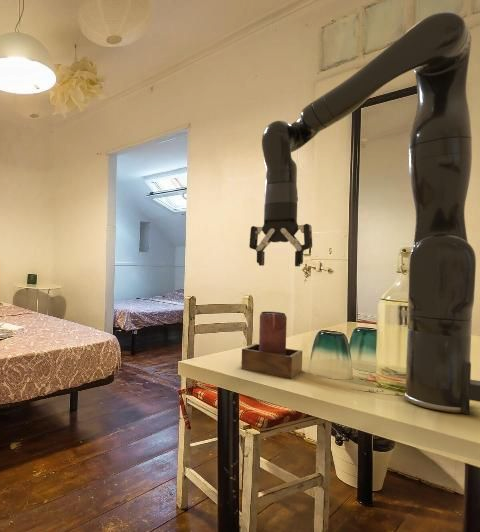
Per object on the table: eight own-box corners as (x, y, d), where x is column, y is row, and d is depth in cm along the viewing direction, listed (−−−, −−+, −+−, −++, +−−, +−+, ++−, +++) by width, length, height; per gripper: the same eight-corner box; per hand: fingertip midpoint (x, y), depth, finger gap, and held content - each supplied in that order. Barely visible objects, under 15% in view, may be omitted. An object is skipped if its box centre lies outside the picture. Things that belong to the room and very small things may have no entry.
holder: (301, 370, 100) (302, 350, 100) (291, 378, 93) (291, 357, 93) (254, 362, 108) (255, 343, 108) (241, 368, 101) (241, 348, 100)
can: (261, 369, 98) (263, 313, 97) (256, 363, 104) (257, 310, 104) (288, 372, 96) (290, 314, 96) (281, 365, 102) (283, 311, 102)
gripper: (246, 203, 103) (245, 265, 103) (308, 198, 93) (306, 266, 93) (256, 206, 108) (255, 265, 108) (315, 201, 99) (314, 266, 99)
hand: (279, 266), depth 101 cm, fingers open, 8 cm apart
